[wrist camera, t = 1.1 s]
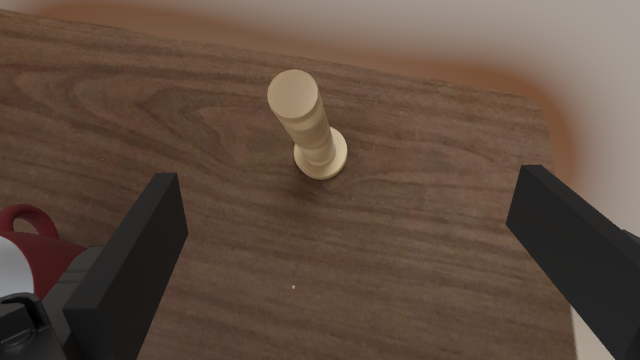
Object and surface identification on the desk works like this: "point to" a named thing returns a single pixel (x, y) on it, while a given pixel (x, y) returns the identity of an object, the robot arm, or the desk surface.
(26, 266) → the mug
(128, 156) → the desk surface
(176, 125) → the desk surface
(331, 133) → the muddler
